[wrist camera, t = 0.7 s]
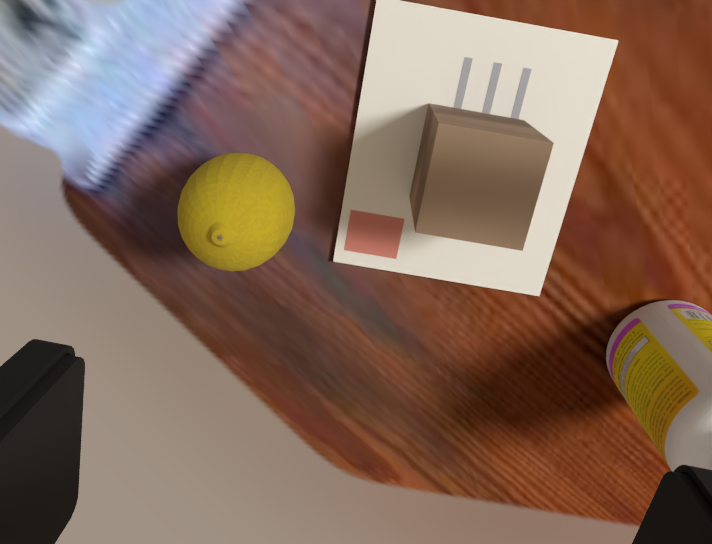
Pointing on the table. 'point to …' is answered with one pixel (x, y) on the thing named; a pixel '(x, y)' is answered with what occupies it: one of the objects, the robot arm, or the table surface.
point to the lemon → (236, 211)
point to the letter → (475, 93)
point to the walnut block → (477, 177)
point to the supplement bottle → (668, 377)
